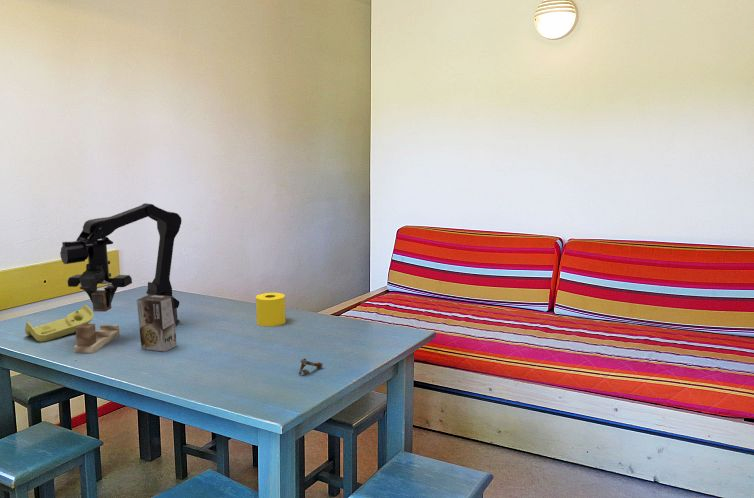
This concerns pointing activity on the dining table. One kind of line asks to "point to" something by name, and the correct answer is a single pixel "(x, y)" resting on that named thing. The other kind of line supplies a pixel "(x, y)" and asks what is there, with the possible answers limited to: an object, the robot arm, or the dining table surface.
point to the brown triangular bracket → (303, 361)
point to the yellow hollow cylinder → (270, 309)
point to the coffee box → (157, 322)
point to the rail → (99, 340)
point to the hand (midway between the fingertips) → (102, 306)
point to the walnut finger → (100, 301)
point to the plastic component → (60, 325)
